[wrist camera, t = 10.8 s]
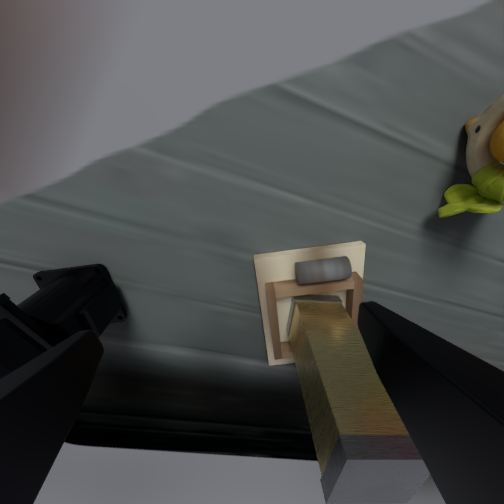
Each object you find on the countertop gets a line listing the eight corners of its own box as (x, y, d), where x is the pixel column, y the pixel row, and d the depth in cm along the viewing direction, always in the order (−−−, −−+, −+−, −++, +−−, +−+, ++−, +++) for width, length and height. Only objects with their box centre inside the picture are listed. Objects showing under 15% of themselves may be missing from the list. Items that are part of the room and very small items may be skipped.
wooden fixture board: (268, 359, 27) (271, 382, 25) (253, 254, 21) (254, 269, 19) (352, 349, 27) (364, 371, 24) (361, 240, 21) (377, 253, 18)
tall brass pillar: (286, 329, 24) (326, 504, 12) (292, 293, 22) (347, 459, 10) (328, 331, 24) (406, 503, 13) (338, 295, 23) (442, 459, 11)
